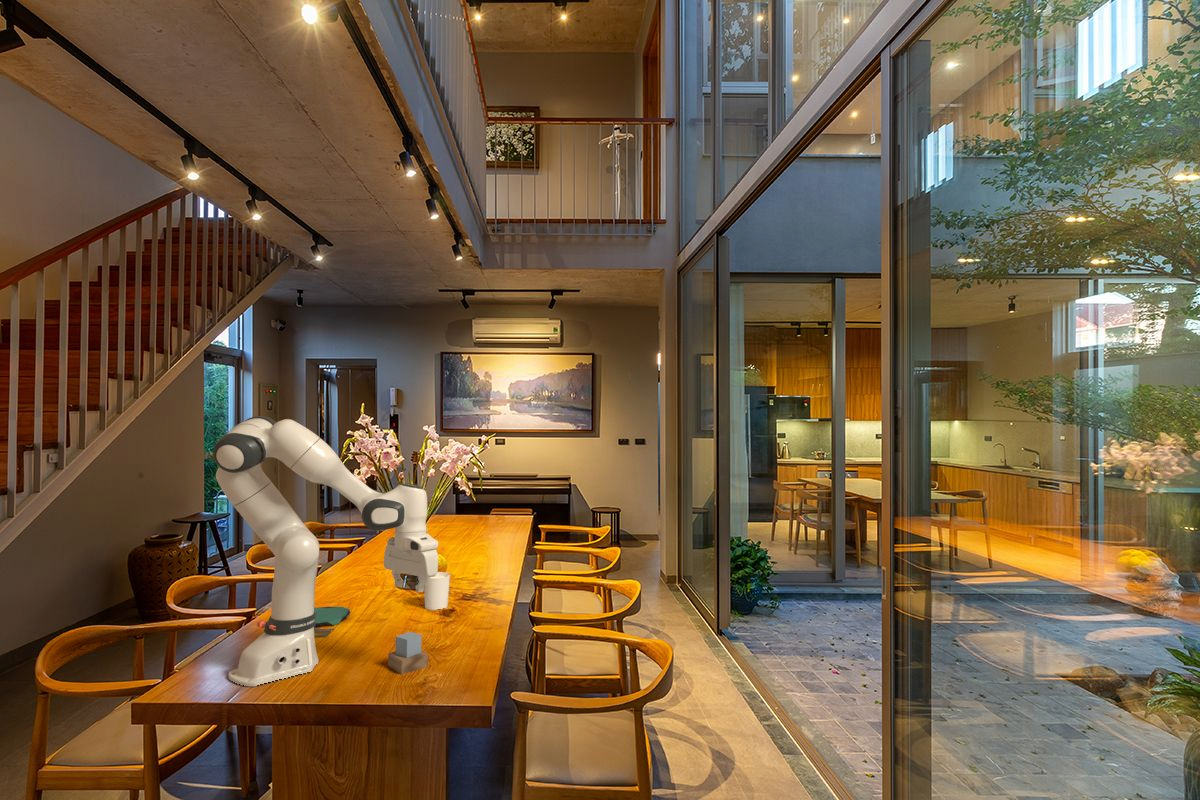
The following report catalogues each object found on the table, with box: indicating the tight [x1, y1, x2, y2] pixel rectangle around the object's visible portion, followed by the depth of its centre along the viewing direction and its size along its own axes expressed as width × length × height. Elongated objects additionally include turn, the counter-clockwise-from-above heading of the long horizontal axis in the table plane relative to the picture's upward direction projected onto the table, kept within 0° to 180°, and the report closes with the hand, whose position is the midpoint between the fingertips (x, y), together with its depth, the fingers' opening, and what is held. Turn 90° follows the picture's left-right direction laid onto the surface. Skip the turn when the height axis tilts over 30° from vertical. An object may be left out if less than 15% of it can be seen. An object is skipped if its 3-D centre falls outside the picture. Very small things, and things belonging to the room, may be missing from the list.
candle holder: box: [423, 571, 451, 611], centre depth 236 cm, size 10×10×12 cm
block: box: [394, 631, 422, 658], centre depth 178 cm, size 5×5×5 cm
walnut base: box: [387, 649, 429, 675], centre depth 178 cm, size 8×8×4 cm
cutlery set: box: [314, 606, 351, 638], centre depth 214 cm, size 20×30×2 cm, turn 8°
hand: (408, 588), depth 180 cm, fingers open, 8 cm apart
